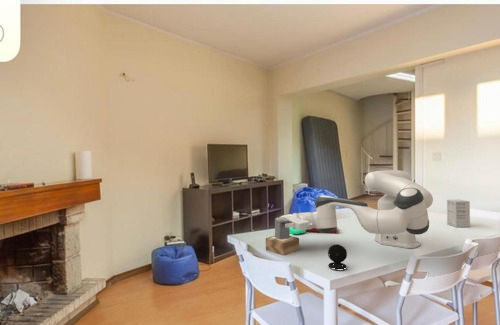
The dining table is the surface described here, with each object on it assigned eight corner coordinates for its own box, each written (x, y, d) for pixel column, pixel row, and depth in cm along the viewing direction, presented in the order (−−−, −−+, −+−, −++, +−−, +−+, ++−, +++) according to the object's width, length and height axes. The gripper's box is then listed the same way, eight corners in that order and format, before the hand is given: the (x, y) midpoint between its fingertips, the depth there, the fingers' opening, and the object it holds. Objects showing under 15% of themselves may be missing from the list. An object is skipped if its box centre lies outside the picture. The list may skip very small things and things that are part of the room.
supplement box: (470, 227, 194) (470, 201, 194) (455, 227, 194) (455, 201, 194) (460, 224, 204) (460, 199, 203) (446, 224, 204) (446, 199, 204)
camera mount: (283, 232, 191) (283, 215, 191) (292, 230, 195) (292, 214, 195) (296, 236, 181) (296, 218, 181) (305, 233, 185) (305, 217, 185)
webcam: (346, 265, 131) (346, 242, 131) (347, 271, 124) (347, 247, 123) (328, 264, 133) (327, 241, 133) (328, 270, 126) (327, 246, 125)
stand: (299, 249, 154) (299, 237, 154) (283, 255, 146) (283, 242, 145) (281, 244, 163) (281, 233, 162) (265, 249, 154) (265, 237, 154)
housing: (284, 235, 158) (284, 216, 157) (289, 238, 152) (289, 218, 152) (275, 237, 156) (274, 217, 155) (279, 239, 150) (279, 219, 150)
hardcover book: (337, 234, 183) (337, 227, 183) (302, 233, 188) (302, 226, 188) (336, 229, 195) (336, 223, 195) (303, 228, 200) (303, 222, 200)
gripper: (315, 231, 149) (290, 234, 144) (294, 223, 168) (272, 225, 163) (315, 218, 149) (290, 221, 144) (294, 212, 168) (271, 214, 163)
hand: (280, 223), depth 153 cm, fingers open, 8 cm apart
